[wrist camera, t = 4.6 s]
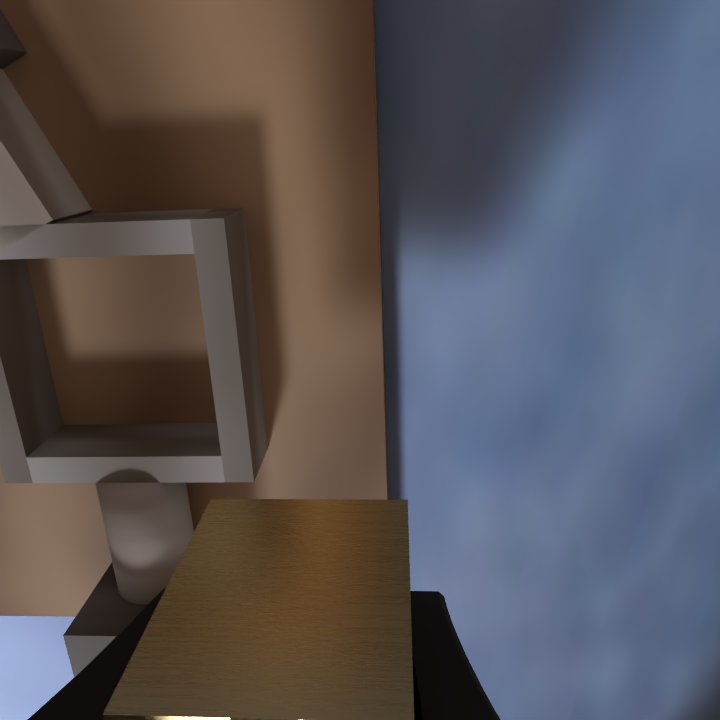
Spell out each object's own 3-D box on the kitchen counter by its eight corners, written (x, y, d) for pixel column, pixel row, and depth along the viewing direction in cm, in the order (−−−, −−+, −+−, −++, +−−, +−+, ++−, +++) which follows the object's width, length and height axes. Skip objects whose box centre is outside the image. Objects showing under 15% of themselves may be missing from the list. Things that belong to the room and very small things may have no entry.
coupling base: (7, 591, 23) (-89, 705, 18) (-180, -46, 16) (-410, -115, 11) (390, 594, 22) (389, 715, 17) (371, -83, 15) (360, -174, 10)
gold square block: (230, 651, 14) (138, 943, 9) (210, 498, 13) (87, 742, 8) (408, 654, 14) (414, 956, 9) (407, 499, 12) (414, 753, 7)
